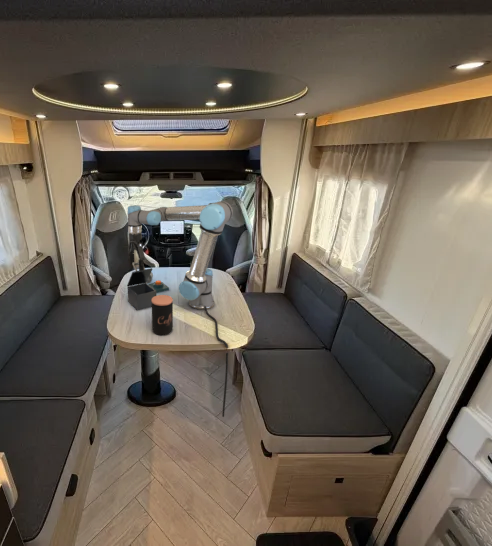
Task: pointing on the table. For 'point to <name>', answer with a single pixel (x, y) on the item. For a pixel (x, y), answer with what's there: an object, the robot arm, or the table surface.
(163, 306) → the coffee jar
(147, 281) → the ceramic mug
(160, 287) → the control block
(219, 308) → the table surface
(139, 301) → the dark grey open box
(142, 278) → the box lid
